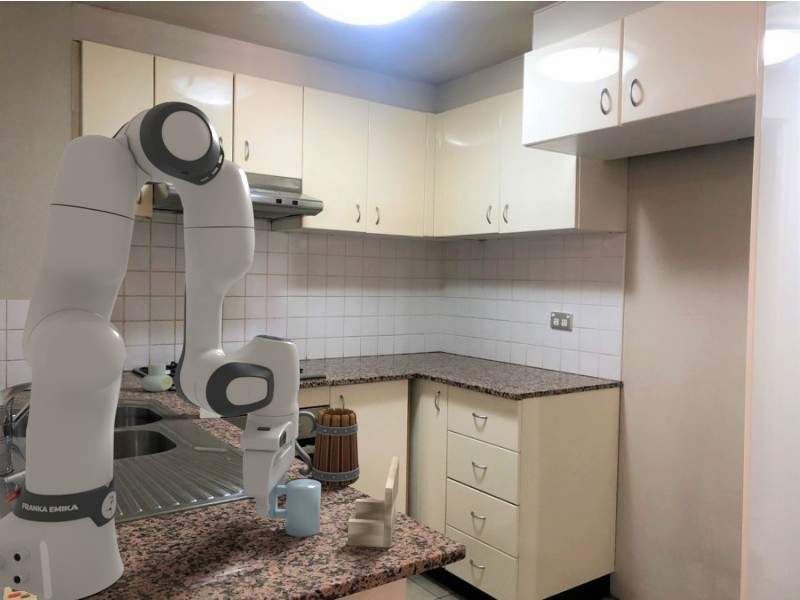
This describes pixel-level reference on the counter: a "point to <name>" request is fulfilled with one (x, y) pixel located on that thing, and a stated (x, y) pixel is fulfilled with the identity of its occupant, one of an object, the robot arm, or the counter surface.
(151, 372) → the air freshener
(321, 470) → the mug
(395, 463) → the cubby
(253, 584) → the counter surface
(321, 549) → the counter surface
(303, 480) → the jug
